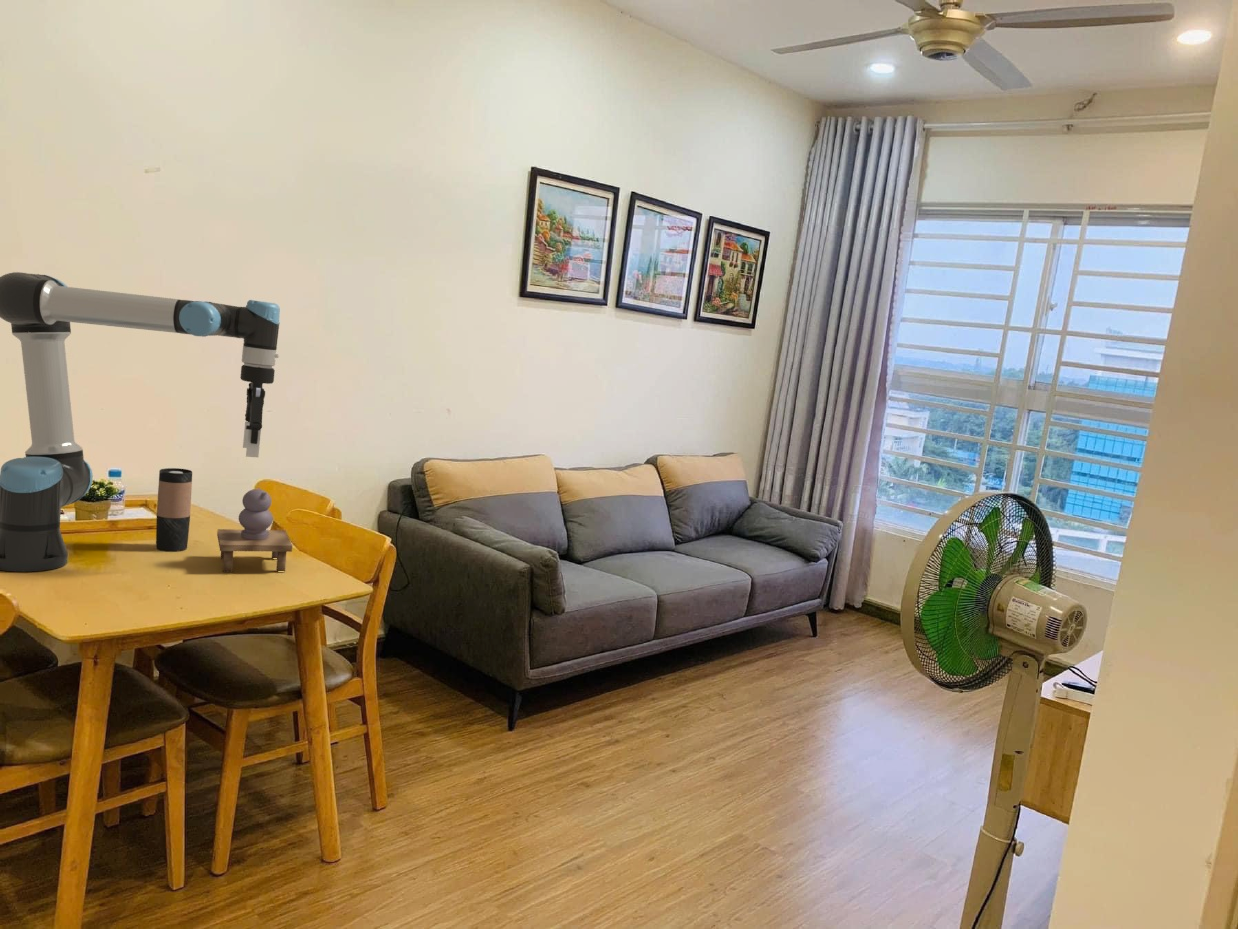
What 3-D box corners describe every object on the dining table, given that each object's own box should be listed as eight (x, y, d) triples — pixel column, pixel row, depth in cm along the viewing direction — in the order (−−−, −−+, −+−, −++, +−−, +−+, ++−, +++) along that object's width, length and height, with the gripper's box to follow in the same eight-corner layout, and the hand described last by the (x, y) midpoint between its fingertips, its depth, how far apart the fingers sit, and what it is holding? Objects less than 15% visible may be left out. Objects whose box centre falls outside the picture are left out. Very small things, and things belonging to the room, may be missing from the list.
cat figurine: (233, 533, 225) (237, 485, 224) (265, 532, 230) (269, 486, 229) (242, 541, 218) (246, 492, 217) (275, 540, 223) (279, 492, 222)
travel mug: (194, 547, 235) (199, 470, 232) (177, 553, 227) (181, 474, 224) (166, 543, 235) (170, 467, 233) (148, 549, 228) (152, 470, 225)
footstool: (218, 573, 214) (220, 544, 213) (215, 556, 228) (217, 529, 228) (290, 573, 221) (292, 545, 221) (283, 556, 236) (285, 530, 235)
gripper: (279, 371, 210) (270, 462, 213) (270, 363, 232) (263, 445, 235) (244, 367, 207) (236, 459, 209) (239, 360, 229) (231, 443, 232)
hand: (250, 452), depth 222 cm, fingers open, 13 cm apart
